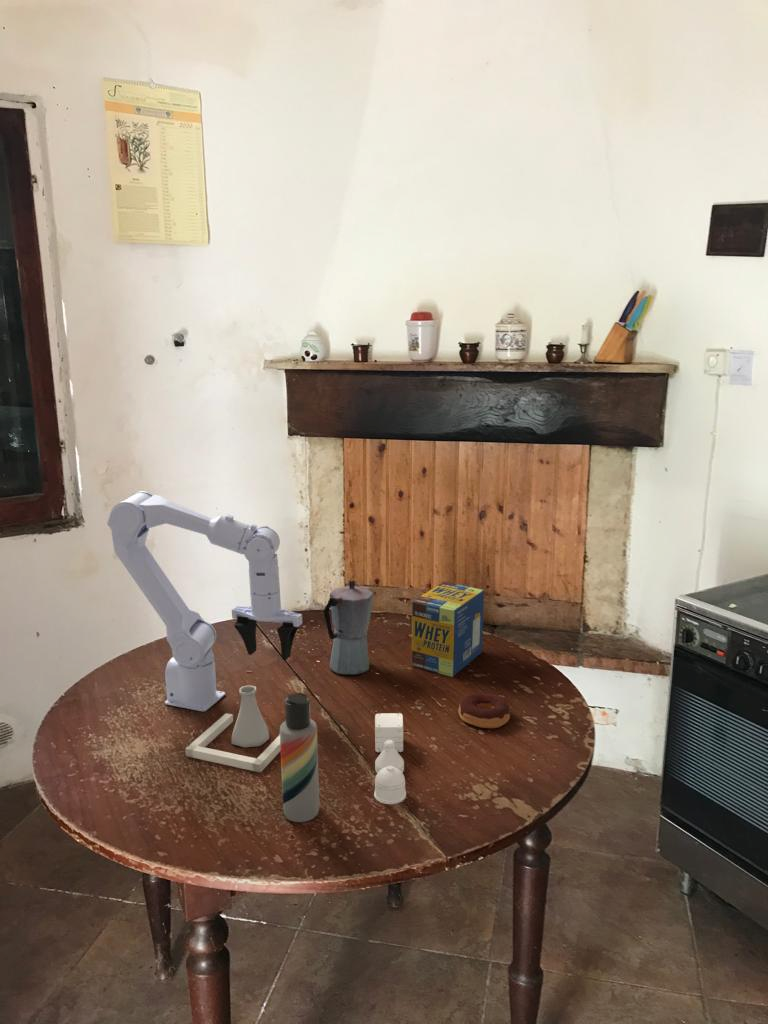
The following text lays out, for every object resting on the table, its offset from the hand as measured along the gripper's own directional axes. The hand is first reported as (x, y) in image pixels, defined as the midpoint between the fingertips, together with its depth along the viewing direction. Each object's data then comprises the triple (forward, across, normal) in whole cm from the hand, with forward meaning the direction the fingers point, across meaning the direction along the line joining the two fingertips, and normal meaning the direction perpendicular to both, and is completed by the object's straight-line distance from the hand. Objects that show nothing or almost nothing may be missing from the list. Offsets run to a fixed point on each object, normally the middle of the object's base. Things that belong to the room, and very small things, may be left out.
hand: (269, 655), depth 158 cm
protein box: (+11, -28, -32) cm, 44 cm away
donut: (+12, -41, -9) cm, 44 cm away
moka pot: (+11, -8, -20) cm, 24 cm away
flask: (+11, -3, +13) cm, 17 cm away
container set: (+11, -30, +14) cm, 35 cm away
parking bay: (+10, -2, +15) cm, 19 cm away
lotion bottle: (+11, -22, +30) cm, 39 cm away
